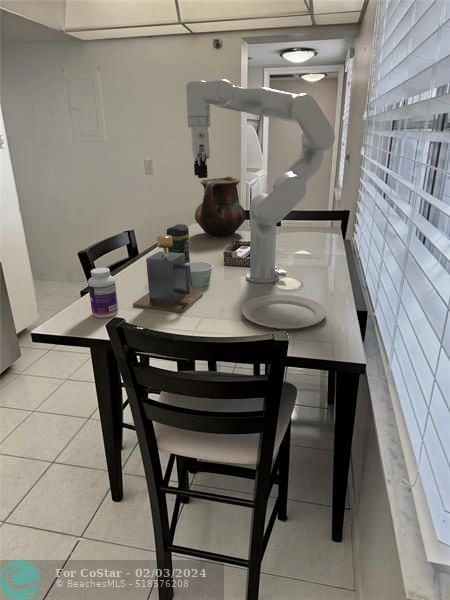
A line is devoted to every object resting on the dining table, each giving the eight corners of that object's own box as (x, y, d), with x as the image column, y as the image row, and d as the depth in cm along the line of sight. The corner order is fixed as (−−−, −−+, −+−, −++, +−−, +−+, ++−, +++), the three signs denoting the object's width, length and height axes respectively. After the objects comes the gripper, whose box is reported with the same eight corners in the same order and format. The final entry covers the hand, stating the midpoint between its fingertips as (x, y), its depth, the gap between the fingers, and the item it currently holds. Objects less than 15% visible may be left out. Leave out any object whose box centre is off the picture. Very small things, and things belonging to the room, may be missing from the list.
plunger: (181, 294, 144) (177, 235, 136) (172, 300, 138) (168, 239, 131) (164, 292, 146) (160, 234, 138) (155, 298, 140) (150, 238, 133)
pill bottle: (95, 309, 136) (89, 266, 131) (120, 308, 137) (115, 265, 132) (90, 319, 129) (83, 274, 124) (116, 318, 130) (111, 273, 124)
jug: (201, 228, 249) (199, 175, 238) (248, 228, 246) (248, 175, 235) (189, 241, 220) (186, 181, 209) (242, 242, 216) (242, 181, 205)
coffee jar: (183, 274, 169) (181, 228, 162) (165, 272, 171) (162, 227, 164) (193, 267, 177) (191, 223, 170) (175, 266, 179) (173, 222, 173)
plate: (314, 299, 143) (315, 293, 142) (335, 332, 119) (336, 326, 118) (238, 301, 142) (238, 295, 141) (244, 335, 118) (244, 329, 117)
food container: (206, 289, 152) (205, 272, 150) (176, 286, 156) (175, 269, 154) (218, 279, 163) (217, 263, 160) (189, 276, 167) (188, 260, 164)
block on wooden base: (202, 295, 147) (201, 251, 141) (183, 313, 133) (180, 265, 127) (156, 290, 152) (152, 247, 147) (133, 306, 138) (128, 260, 133)
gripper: (214, 122, 133) (215, 178, 139) (206, 123, 149) (207, 174, 155) (190, 122, 131) (192, 179, 138) (185, 123, 147) (187, 174, 154)
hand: (200, 176), depth 146 cm, fingers open, 9 cm apart
